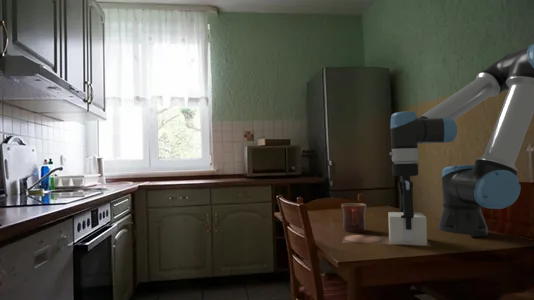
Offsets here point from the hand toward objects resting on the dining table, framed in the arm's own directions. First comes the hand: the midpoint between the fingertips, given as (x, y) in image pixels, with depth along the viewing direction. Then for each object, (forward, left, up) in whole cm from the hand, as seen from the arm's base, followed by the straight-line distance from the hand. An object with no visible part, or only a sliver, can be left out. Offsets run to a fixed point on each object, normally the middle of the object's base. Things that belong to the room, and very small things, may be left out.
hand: (406, 236), depth 112 cm
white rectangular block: (0, 0, -1) cm, 1 cm away
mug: (+16, -13, -3) cm, 20 cm away
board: (+6, 0, -2) cm, 7 cm away
